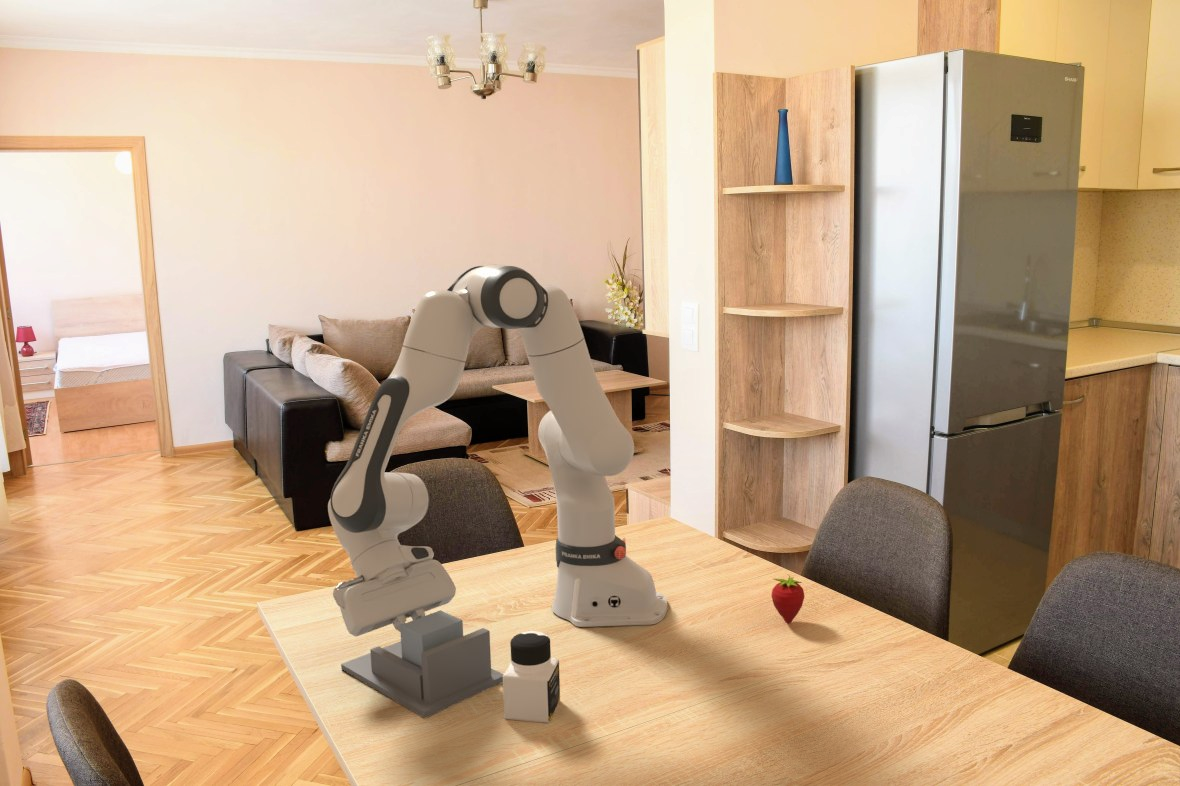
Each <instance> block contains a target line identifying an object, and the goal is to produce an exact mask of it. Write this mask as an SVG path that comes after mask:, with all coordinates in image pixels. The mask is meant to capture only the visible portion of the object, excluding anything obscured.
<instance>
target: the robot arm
mask: <svg viewBox="0 0 1180 786" xmlns="http://www.w3.org/2000/svg"><path fill="white" fill-rule="evenodd" d="M484 327H485V328H489V329H490V328H491V329H499V328H501V329H506V330H517V332H518V333H519V335H520V337H521V339H522V343H523V347H524V350H525V354H526V357H527V360H528V363H529V367H530V369H531V372H532V376H533V379H534V382H535V387H536V388H537V392H538V393H539V395H540V397H541V398H542V399H543V401H544V403H546V405H547V407H548V409H549V411H548V412H546V413H545V414H544V415H543V417H542V419H541V420H540V422H539V425H538V429H537V436H538V440H539V444H541V447H542V449H543V450H544V453H545V456H546V459H547V464H548V467H549V472H550V476H551V480H552V485H553V489H554V494H555V501H556V514H557V515H556V516H557V517H556V518H557V537H556V538H555V562H556V567H557V575H556V576H557V579H556V586H555V592H554V598H553V601H552V604H551V610H552V612H553V613H554V614H555V615H556V616H557V617H559V618H562V619H565V620H567V621H569V622H570V623H572V625H573V626H575V627H580V628H584V627H587V628H588V627H612V626H613V627H614V626H615V627H616V626H644V625H645V626H646V625H655V624H657V623H659V622H660V621H662V620H663V619H664V618H665V616H666V615H667V612H668V607H669V606H668V600H667V598H666V596H665V595H664V594H663V593H661V592H659V591H656V587H655V586H656V585H655V581H654V578H653V576H652V574H651V573H650V571H649V570H648V569H646V568H645V567H643V566H641V565H640V564H638V562H636V561H634V560H633V559H632V558H631V557H629V556H627V544H626V538H625V537H623V539H622V538H620V537H618V536H617V535H616V515H615V514H616V513H615V511H616V510H615V509H616V508H615V498H614V494H613V492H612V490H611V488H610V486H609V485H608V482H607V480H606V477H612V476H616V475H619V474H620V473H623V472H624V471H625V470H626V469H627V468H628V466H629V465H630V463H631V461H632V460H633V457H634V454H635V443H634V438H633V436H632V434H631V433H630V432H629V430H627V428H626V427H625V426H624V424H623V423H622V422H621V421H620V419H619V417H618V416H617V414H616V412H615V410H614V408H613V406H612V404H611V403H610V401H609V399H608V397H607V395H606V393H605V391H604V390H603V388H602V385H601V384H600V382H599V379H598V377H597V374H596V372H595V371H596V370H595V369H594V366H593V363H592V359H591V356H590V353H589V349H588V346H587V343H586V339H585V336H584V332H583V330H582V327H581V323H580V321H579V318H578V316H577V314H576V312H575V309H574V307H573V306H572V303H571V301H570V300H569V297H568V295H567V294H566V292H565V291H564V290H562V288H560V287H557V286H554V285H541V283H539V282H538V281H537V279H536V278H535V277H534V276H533V275H532V274H530V273H529V272H528V271H526V270H524V269H523V268H521V267H517V266H514V265H513V266H512V265H505V264H498V263H497V264H488V265H477V266H474V267H471V268H469V269H466V270H464V272H462V273H461V274H459V276H458V277H457V278H456V280H455V281H454V282H453V283H452V284H451V285H450V287H449V288H447V289H436V290H432V291H431V290H430V291H429V292H427V293H425V294H424V295H423V296H422V297H421V298H420V300H419V302H418V304H417V306H416V307H415V310H414V312H413V314H412V317H411V320H410V322H409V325H408V326H407V330H406V333H405V336H404V340H403V343H402V347H401V350H400V354H399V357H398V358H397V361H396V363H395V366H394V367H393V369H392V371H391V372H390V374H389V376H388V377H387V378H386V379H385V380H384V381H383V382H382V383H381V384H380V385H379V387H378V388H377V390H376V393H375V394H374V397H373V399H372V401H371V403H370V406H369V408H368V410H367V413H366V415H365V418H364V420H363V423H362V424H361V425H362V426H361V427H360V431H359V433H358V434H357V439H356V440H355V443H354V446H353V449H352V450H351V454H350V456H349V458H348V461H347V463H346V465H345V466H344V468H343V469H342V471H341V473H340V474H339V476H338V477H337V479H336V481H335V482H334V485H333V487H332V489H331V494H330V499H329V501H328V503H327V512H328V517H329V521H330V524H331V526H332V529H333V531H334V534H335V536H336V538H337V540H338V543H339V544H340V545H341V548H343V550H345V552H346V553H347V554H348V556H349V560H350V566H351V568H352V569H353V572H354V574H355V576H356V577H354V578H351V579H349V580H346V581H341V582H339V583H337V586H335V588H334V589H333V593H332V597H333V600H335V603H336V605H337V606H338V607H339V608H340V612H341V613H340V614H341V616H342V620H343V622H344V625H345V627H346V630H347V632H348V633H349V634H350V635H351V636H354V637H359V636H362V635H364V634H367V633H370V632H373V631H376V630H379V629H381V628H384V627H387V626H390V625H392V626H393V627H394V629H395V630H396V631H398V632H399V633H401V632H400V625H402V624H405V623H406V621H407V619H409V618H411V619H412V621H413V620H416V619H418V618H421V617H424V616H426V612H428V611H430V610H433V609H436V608H439V607H441V606H445V605H447V604H449V603H450V602H452V600H453V599H454V597H455V596H456V594H457V588H456V585H455V583H454V581H453V580H452V578H451V576H450V573H448V571H447V569H446V568H445V567H444V566H443V564H442V563H441V562H439V560H436V559H433V558H434V556H435V553H434V551H433V549H432V547H430V546H413V545H412V546H411V545H405V544H401V543H400V542H399V539H398V536H399V534H402V533H405V532H406V531H408V530H410V529H411V528H413V527H414V526H416V525H418V524H419V523H421V522H422V521H423V520H424V519H425V517H426V515H427V513H428V510H429V508H430V507H429V506H430V494H429V493H430V492H429V490H428V487H427V484H426V483H425V482H424V480H423V479H422V478H421V477H419V475H416V474H414V473H407V472H399V471H398V472H395V471H389V472H387V471H386V468H387V466H388V463H389V460H390V457H391V456H392V452H393V450H394V447H395V445H396V442H397V439H398V437H399V434H400V433H401V430H402V429H403V427H404V425H405V424H406V423H407V422H408V421H409V420H410V419H412V418H413V417H414V416H417V415H418V414H419V413H421V412H423V411H425V410H428V409H430V408H434V407H437V406H440V405H441V404H443V403H445V402H446V401H448V400H449V399H450V398H451V397H452V396H454V395H455V393H456V391H457V389H458V387H459V385H460V382H461V380H462V378H463V374H464V371H465V366H466V362H467V357H468V354H469V349H470V344H471V343H472V340H473V338H474V337H475V335H477V332H478V331H480V329H483V328H484ZM385 471H386V472H385Z"/></svg>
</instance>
